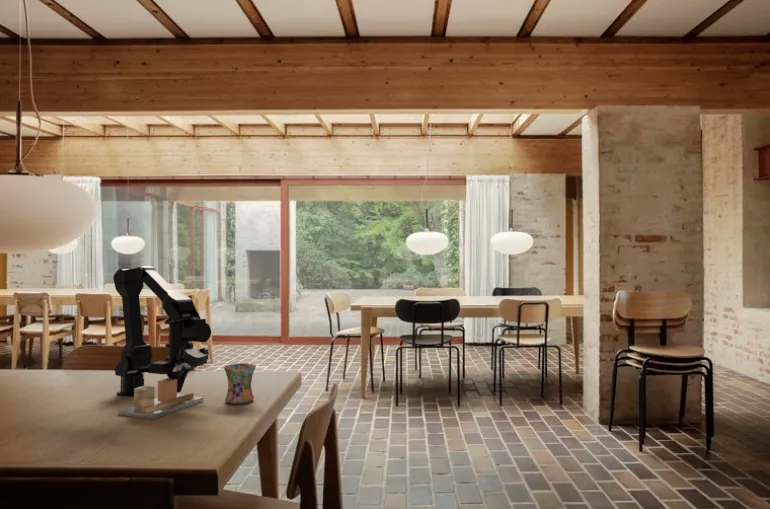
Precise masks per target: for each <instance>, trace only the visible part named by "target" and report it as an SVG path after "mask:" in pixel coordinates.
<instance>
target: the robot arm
mask: <svg viewBox="0 0 770 509" xmlns="http://www.w3.org/2000/svg"><path fill="white" fill-rule="evenodd" d="M113 283H114V288H115V291H116V292H117V294H119V296H120V297H121V302H122V312H123V314H122V315H123V323H124V334H125V345H124V346H123V348H122V350H121V354H120V355H121V359H120V361H119V362H118V363H117V364H116V366H115V367H114V374H115V376H117V377H120V391H118V392H115V394H116V395H118V396H120V395H121V396H126V397H134V389H135V388H138V387H142V386H145V378H144V374H145V373H148V374H154V375H155V374H156V375H166V376H167V378H170V379H177V394H179V393H182V392H181V391H182V389H183V387H184V384H185V381H186V378H187V377H188V374H190V372H191V371H192V370H194V369H195V368H197V367H203V366H204V365H206V364H208V360H209V358H210V357H209V355H210V353H209V349H208V348H207V347H202V348H200V349H199V348H198V349H197V348H196V349H195V347H194V344H193V342H195V343H206V342H207V341H208V340H209V339H210V338H211V335H212V329H211V327H210V325H209V323H207V318H201V316H200V314H199V312H198V309H197V307H196V306H195V303H194V301H193V299H192V298H190V297H189V296H188V295H186V294H184V293H182V292H180V291H177V290H175V289H174V288H173V287H172V286H171V284H169V283H168V282H167V281H166V279H164V277H162V276H161V274H159V272H157V269H156V267H154V266H150V265H148V266H143V265H141V266H138V267H135V268H119V269H117V270H116V272H115V273H114V274H113ZM144 285H146V287H148V289H150V290H151V292H152V293H154V296H155V295H156V297H157V298H158V299H159V300H160V301H161V306H162V307H161V308H162V310H163V311H164V312H165V314H166V315H167V316H168V318H167V319H166V320H165V321H164V324H165V325H168V327H169V328H168V343H165V348H168V356H167V357H165V360H164V361H163V360H158V361H153V360H152V359H153V358H154V356H153V354H152V345H150V344H147V343H146V342H145V341H144V332H143V321H142V314H141V312H142V311H141V303H140V302H141V300H140V295H141V293H142V291H143V288H144ZM152 361H153V362H152Z"/></svg>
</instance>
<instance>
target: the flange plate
mask: <svg viewBox="0 0 770 509" xmlns="http://www.w3.org/2000/svg"><path fill="white" fill-rule="evenodd" d="M183 395H184V394H179V393H177V397H180V396H183ZM204 399H205V398H204V396H196V395H194V397H193V398H190V399H187V400H184V401H181V402H178V403H175V404H172V405H169V406H166V407H163V408H160V409H157V410H154V411H151V412H148V413H145V412H140V411H134V404H133V405H131V406H127V407H125V408H124V407H123V408H121V409H118V414H117V415H120V416H126V417H133V418H141V419H147V420H155V419H158V418H161V417H163V416H164V417H165V416H166V415H170V414H172V413H175V412H178V411H180V410H183V409H186V408H189V407H191V406H195V405H197V404H200V403H202V402H203V403H204ZM158 403H161V402H158V397H157V398H156V397H155V398H154V405H155V404H158Z"/></svg>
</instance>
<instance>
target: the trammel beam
mask: <svg viewBox="0 0 770 509" xmlns="http://www.w3.org/2000/svg"><path fill="white" fill-rule="evenodd" d="M155 388H156V387H155V386H149V385H144V386H142V387H138V388H135V389H134V396H133V405H134V411H140V412H145V413H148V412H151V411H154V410H157V409H160V408H163V407H166V406H169V405H172V404H175V403H178V402H181V401H184V400H187V399H190V398H193V397H194V396H195V394H194V392H189V393H186V394H182V395H183V396H180V397H177V398H174V399H171V400H167V401H164V402H161V403H158V404H155V405H154V399H155V398H156V396H155V393H156V391H155V390H156V389H155Z"/></svg>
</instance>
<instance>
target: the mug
mask: <svg viewBox="0 0 770 509" xmlns="http://www.w3.org/2000/svg"><path fill="white" fill-rule="evenodd" d="M256 368H257V367H256V364H254V363H231V364H226V365H225V366H224V367H223V370H224V371H225V375H226V378H227V384H228V386H227V392H226V396H225V398H224V400H225V402H226V403H227V404H228V403H229V404H233V405H240V404H247V403H249V402H252V401H253V400H254V399H255V397H254V394H253V390H252V380H253V375H254V372H255V370H256Z"/></svg>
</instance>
